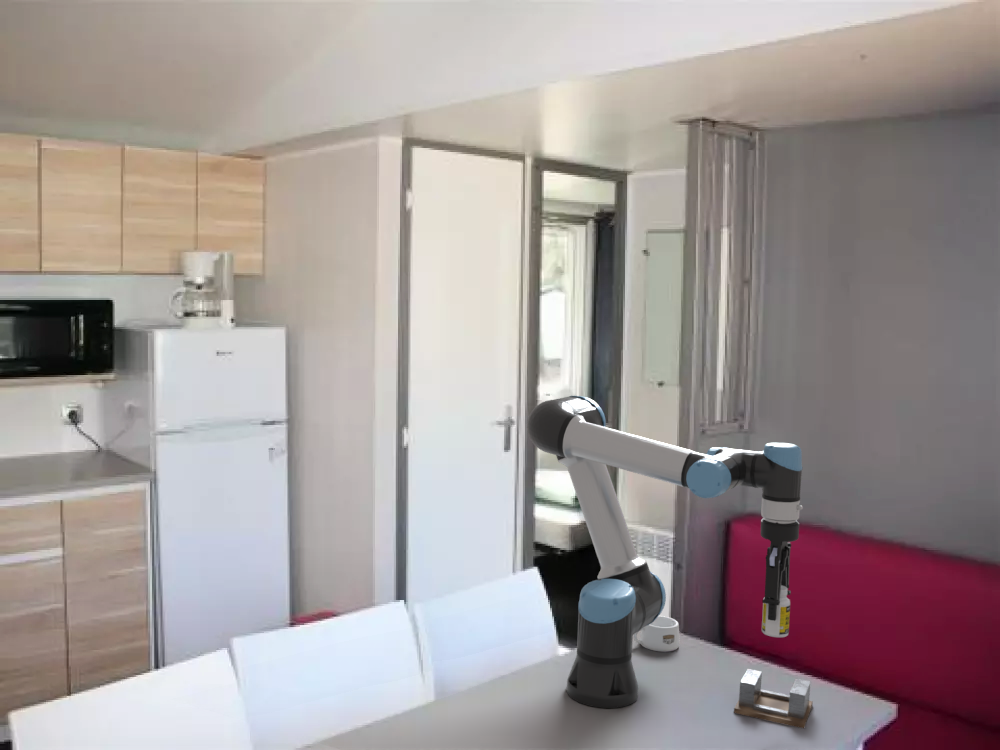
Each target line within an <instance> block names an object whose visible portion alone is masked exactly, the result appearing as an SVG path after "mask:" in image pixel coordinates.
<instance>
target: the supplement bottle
mask: <svg viewBox="0 0 1000 750" xmlns="http://www.w3.org/2000/svg"><path fill="white" fill-rule="evenodd" d="M787 590H789V588H788V589H787V587H785V586H782V585H781V591H780V604H781V609H780V631H779V636H775V635H769V634H765V624H766V603H763V602H762V618H761V619H762V621H761V633H763V634H764V635H765V636H769V637H772V638H785V637H787V636H789V633H790V620H791V619H790V614H791V599H789V598H788V597H786V596H788V595H787ZM764 598H765V596H764V597H763V599H762V600H764Z"/></svg>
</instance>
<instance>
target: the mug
mask: <svg viewBox="0 0 1000 750" xmlns="http://www.w3.org/2000/svg"><path fill="white" fill-rule="evenodd" d="M639 632H640V634H639V639H638V637H637V635H638V633H639ZM633 639H634V641H635V643H636V644H640V645H641V646H642V647H643V648H645V649H647V650H649V651H654V652H661V653H667V652H669V653H670V652H673V651H676V650H677V649H678V648H679V647H680V642H681V641H680V626H679V621H677V620H676V619H675V618H672V617H669V616H664V615H659V616H658V617H657V618H656V620H655V621H654V622H652V623H651V624H649V625H647V626H645V627H644V628H642V629H641V630H639V631H638V632H636V633H635V634H633Z"/></svg>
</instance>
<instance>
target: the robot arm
mask: <svg viewBox="0 0 1000 750" xmlns="http://www.w3.org/2000/svg"><path fill="white" fill-rule="evenodd" d="M605 416H606V415H605V413H604V411H603V409H602V407H600V405H599V404H598V403H597V402H596V401H595V400H593V399H591V398H590V397H587V396H581V395H570V396H564V397H561V398H560V397H559V398H556V399H549V400H544V401H542V402H540V403H539V404H537V405H535V407H534V408H533V409H532V411H530V413H529V415H528V418H527V422H526V429H527V434H528V438H529V439H530V442H531V443H532V444H533V446H534V447H536V448H537V449H539V451H542V452H543V453H547V454H550V455H551V454H552V455H555V456H556V459H557V461H558V463H559V464H561V465H564V466H565V467H566V469H567V471H568V474H569V476H570V480H571V482H572V486H573V489H574V491H575V494H576V497H577V499H578V500H577V501H578V503H579V506H580V509H581V512H582V515H583V517H584V521H585V523H586V524H585V525H586V527H587V529H588V532H589V535H590V538H591V541H592V545H593V547H594V550H595V554H596V557H597V559H598V563H599V566H600V571H599V572H598V575H597V579H595V580H592V581H590V582H587V584H585V585H584V586H583V587H582V588H581V591H580V594H579V601H578V616H577V617H578V620H577V621H578V622H577V641H576V642H577V644H576V645H577V646H576V656H575V658H574V659H575V660H574V661H573V664H572V667H571V669H570V672H569V674H568V677H567V681H566V693H567V694H568V696H569V697H570V698H571V699H573V700H574V701H576V702H578V703H580V704H583V705H587V706H588V707H589V706H590V707H594V708H603V709H614V708H616V709H617V708H622V707H627V706H629V705H632V704H634V702H636V701H637V700H638V697H639V692H638V691H639V684H638V679H637V677H636V673H635V669H634V668H635V667H634V665H633V661H632V660H633V658H632V656H633V642H634V641H633V639H634V636H633V635H634V634H635V633H636V632H638V631H639V630H641V629H642V628H644V627H645V626H647V625H649V624H651V623H652V622H654V621H655V620H656V618H657V617H658V616H661V614H662V612H663V610H664V608H665V605H666V599H667V598H666V597H667V596H666V595H667V594H666V589H665V585H664V583H663V582H662V580H661V579H660V577H659V576H658V575H657V574H654V573H653V572H652V571H651V570H650V568H649V565H648V562H647V560H645V559H644V558H642V557H639V556H638V553H637V551H636V547H635V545H634V542H633V539H632V536H631V533H630V530H629V528H628V525H627V522H626V519H625V516H624V514H623V510H622V508H621V507H622V506H621V504H620V502H619V499H618V495H617V493H616V490H615V487H614V484H613V481H612V478H611V476H610V475H611V474H610V473H609V470H608V467H607V466H610V467H613V468H617V469H621V470H624V471H627V472H631V473H635V474H637V475H641V476H644V477H647V478H652V479H655V480H659V481H662V482H666V483H669V484H673V485H675V486H679V487H682V488H685V489H689V490H690V491H691V493H692V494H693V495H695V496H696V497H699V498H701V499H713V498H716V497H717V498H718V497H719V496H721V495H723V494H725V493H726V492H728V491H730V490H731V489H734V488H736V487H738V486H739V487H748V488H755V489H756V488H757V489H761V490H762V494H761V508H760V509H761V510H760V511H761V512H760V515H761V517H762V519H761V520H760V536H761V538H763V539H765V540H769V542H770V545H769V546H768V547H767V549H766V550H767V551H766V556H765V582H764V584H765V585H764V597H765V598H764V597H763V599H764V600H763V599H762V604H763V603H766V624H765V634H769V635H775V636H779V631H780V609H781V604H780V591H781V585H782V586H785V587H787V589H788V590H787V596H790V595H791V593H792V592H791V591H792V590H789V588H790V564H791V563H790V562H791V550H792V549H791V547H792V542H795V541H796V542H797V540H799V539H800V537H799V536H800V535H799V533H800V522H799V521H798V520H799V519H800V511H803V509H804V506H803V505H802V504H800V503H801V488H802V476H803V475H802V474H803V473H802V472H803V464H802V463H803V459H802V456H803V453H802V448H801V447H800V446H798V445H796V444H794V443H788V442H768V443H766V444H764V447H763V450H762V451H757V450H755V451H754V450H748V449H739V448H738V449H737V448H732V447H731V448H729V447H728V446H727V447H726V446H723V447H717V446H715V447H710V448H709V449H708V450H707V452H706V453H702V452H698V451H694V450H691V449H688V448H684V447H680V446H678V445H677V446H676V445H673V444H669V443H665V442H662V441H659V440H658V441H657V440H654V439H650V438H647V437H643V436H640V435H637V434H636V435H635V434H632V433H628V432H625V431H622V430H618V429H614V428H609V427H606V424H607V423H606V422H607V420H606V417H605ZM787 596H786V597H787ZM787 598H788V597H787ZM639 632H640V631H639ZM639 632H638V633H639ZM765 634H764V635H765Z"/></svg>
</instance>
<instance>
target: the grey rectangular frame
mask: <svg viewBox="0 0 1000 750" xmlns="http://www.w3.org/2000/svg"><path fill="white" fill-rule="evenodd" d="M762 675H763V671H760V670H757V669H751V668H747V669H746V672H745V673H744V674H743V676H742V678H741V680H740V681H739V696H738V700H739V705H741V706H745V707H750V708H753V710H757V711H761V712H766V713H770V714H775V715H779V716H784V717H787V716H790V717H795V718H799V719H804V716H805V713H806V711H807V708H808V705H809V701H810V694H811V693H810V692H811V683H812V682H811V681H810V680H805V679H799V678H795V679H794V682H793V685H792V687H791V689H790V691H789V694H785V693H781V692H776V691H771V690H766V689H762V679H763V676H762ZM760 693H761V695H763V696H768V697H772V698H777V699H782V700H786V701H789V710H788V711H785V710H781V709H776V708H772V707H767V706H762V705H758V704H756V702H757V700H758V698H759V696H760Z"/></svg>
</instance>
